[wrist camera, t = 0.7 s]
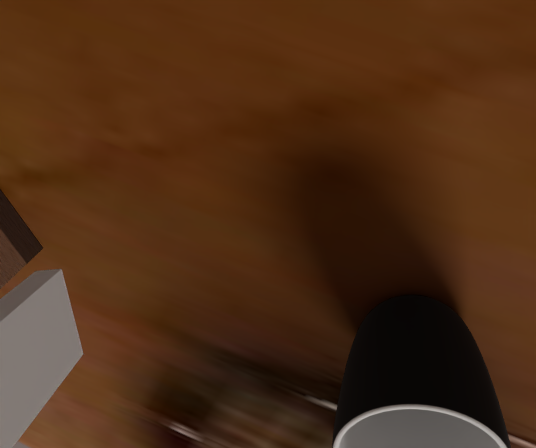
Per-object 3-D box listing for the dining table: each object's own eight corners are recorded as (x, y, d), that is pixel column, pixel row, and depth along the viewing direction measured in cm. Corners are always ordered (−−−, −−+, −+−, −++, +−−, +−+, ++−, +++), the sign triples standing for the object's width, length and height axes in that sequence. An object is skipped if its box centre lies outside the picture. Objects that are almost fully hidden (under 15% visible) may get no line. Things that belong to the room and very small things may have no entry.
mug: (319, 315, 36) (296, 440, 27) (431, 254, 31) (446, 379, 23) (420, 419, 39) (429, 560, 30) (535, 375, 34) (582, 526, 26)
